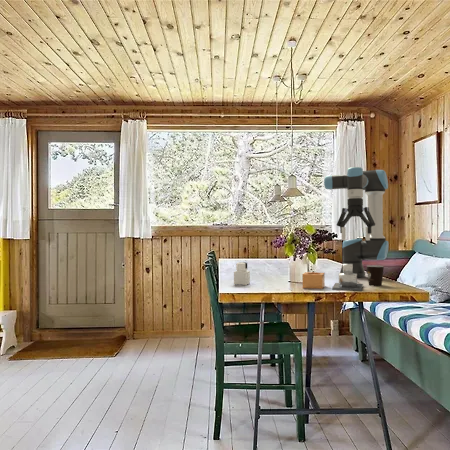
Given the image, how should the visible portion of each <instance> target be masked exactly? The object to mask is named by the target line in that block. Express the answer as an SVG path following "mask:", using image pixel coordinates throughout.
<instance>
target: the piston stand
mask: <svg viewBox="0 0 450 450" xmlns="http://www.w3.org/2000/svg"><path fill="white" fill-rule="evenodd" d="M342 264H343V263H342ZM362 287H363V288H364V284H363V283H358V278H357V274H355V273H353V264H343V273H340V272H339V273H338V282H334V285H333V286H332V290H333V291H353V292H357V291H358V292H362V291H363V288H362Z"/></svg>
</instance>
